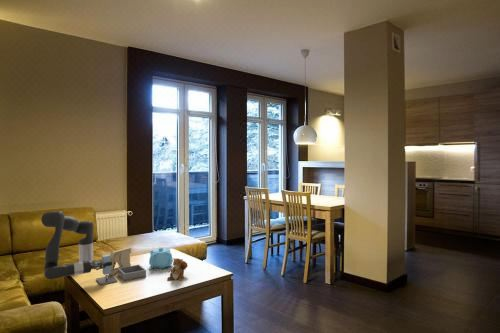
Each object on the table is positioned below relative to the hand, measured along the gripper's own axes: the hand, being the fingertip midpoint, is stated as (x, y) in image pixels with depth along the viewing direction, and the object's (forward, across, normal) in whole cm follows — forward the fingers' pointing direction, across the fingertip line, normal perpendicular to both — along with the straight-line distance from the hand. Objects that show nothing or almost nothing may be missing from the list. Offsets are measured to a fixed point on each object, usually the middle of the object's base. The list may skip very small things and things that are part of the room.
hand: (110, 262), depth 225 cm
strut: (-3, 0, +6) cm, 7 cm away
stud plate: (-3, 0, +11) cm, 12 cm away
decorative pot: (+36, +8, +12) cm, 39 cm away
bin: (+13, 0, +11) cm, 17 cm away
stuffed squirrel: (+36, -22, +12) cm, 44 cm away
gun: (+10, +18, +12) cm, 24 cm away
